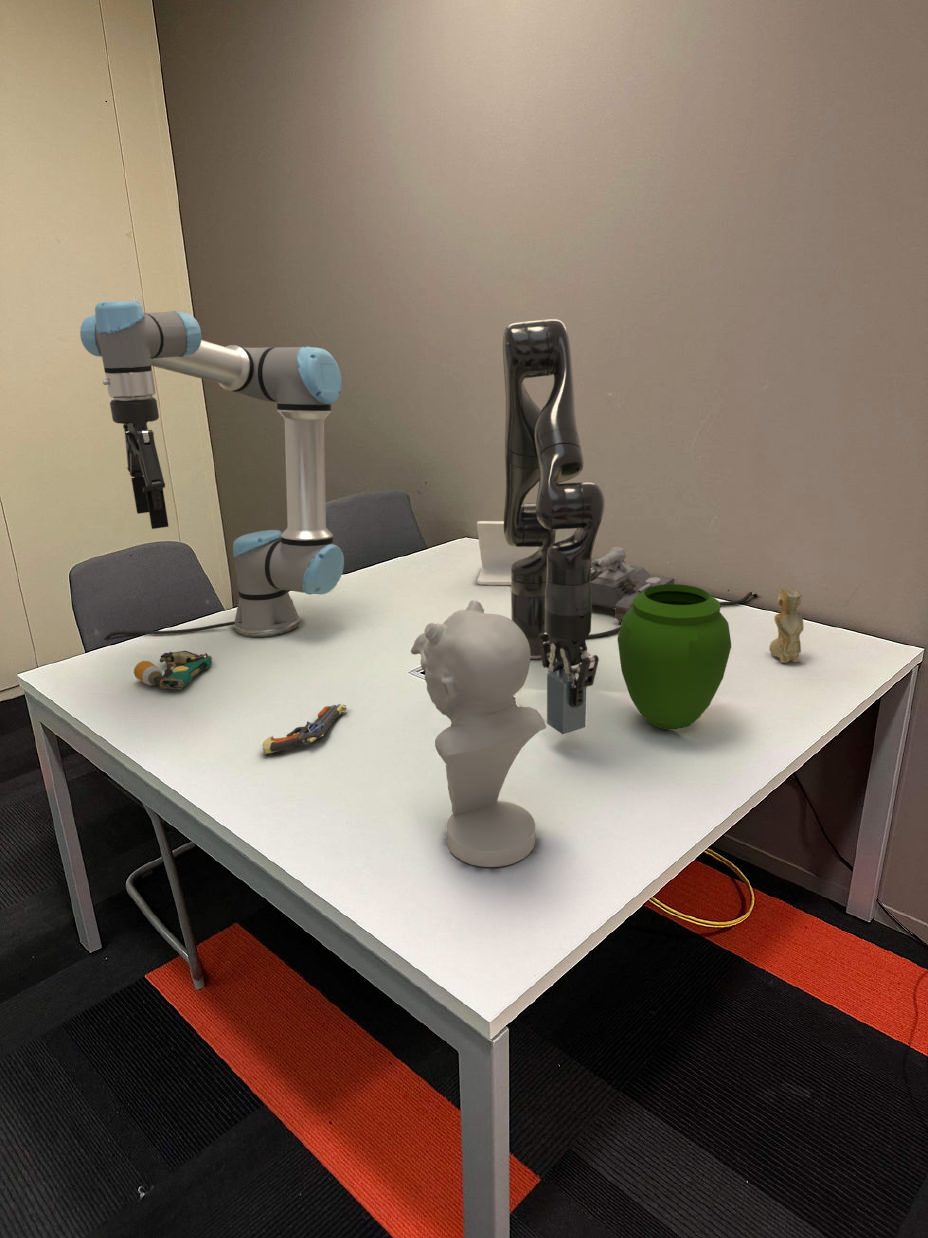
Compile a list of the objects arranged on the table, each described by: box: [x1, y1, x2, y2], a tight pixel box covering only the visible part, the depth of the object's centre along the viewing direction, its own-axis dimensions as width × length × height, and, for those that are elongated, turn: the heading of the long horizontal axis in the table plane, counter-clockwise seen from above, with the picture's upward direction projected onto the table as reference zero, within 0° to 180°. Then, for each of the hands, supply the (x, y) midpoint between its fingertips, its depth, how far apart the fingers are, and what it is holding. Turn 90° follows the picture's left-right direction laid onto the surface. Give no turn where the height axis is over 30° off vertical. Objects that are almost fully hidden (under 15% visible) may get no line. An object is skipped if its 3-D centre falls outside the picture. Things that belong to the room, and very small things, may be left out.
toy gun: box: [262, 703, 348, 755], centre depth 155 cm, size 3×19×10 cm
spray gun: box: [133, 650, 213, 690], centre depth 180 cm, size 4×17×15 cm
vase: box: [616, 583, 732, 731], centre depth 151 cm, size 20×20×24 cm
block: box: [546, 668, 587, 736], centre depth 144 cm, size 5×5×10 cm
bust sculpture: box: [410, 599, 547, 868], centre depth 121 cm, size 16×24×35 cm
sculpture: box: [768, 587, 805, 664], centre depth 178 cm, size 6×7×15 cm
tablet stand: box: [476, 520, 571, 586], centre depth 236 cm, size 18×25×17 cm
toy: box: [591, 546, 676, 622], centre depth 212 cm, size 25×20×15 cm
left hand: (152, 519), depth 153 cm, fingers open, 13 cm apart
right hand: (566, 699), depth 144 cm, fingers closed on block, 4 cm apart
